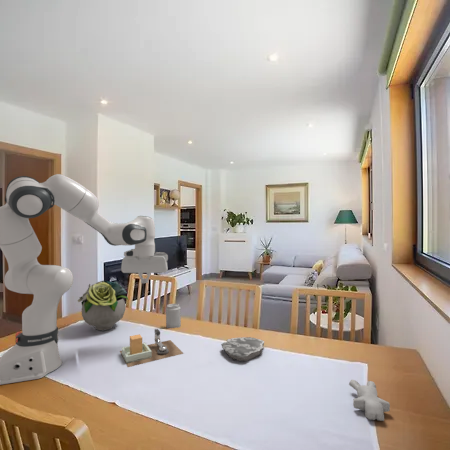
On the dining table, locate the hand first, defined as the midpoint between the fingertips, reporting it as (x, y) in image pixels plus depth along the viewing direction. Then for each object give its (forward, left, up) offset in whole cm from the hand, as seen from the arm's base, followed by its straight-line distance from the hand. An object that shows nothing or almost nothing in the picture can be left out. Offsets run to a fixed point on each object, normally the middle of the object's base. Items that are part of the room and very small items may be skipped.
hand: (144, 282), depth 133 cm
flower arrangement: (-13, +31, -28) cm, 44 cm away
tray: (-7, -14, -26) cm, 30 cm away
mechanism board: (-1, -14, -28) cm, 31 cm away
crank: (+3, -13, -25) cm, 28 cm away
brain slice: (+33, -30, -28) cm, 52 cm away
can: (+18, +12, -28) cm, 35 cm away
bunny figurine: (+45, -79, -28) cm, 95 cm away
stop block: (-7, -13, -26) cm, 30 cm away
